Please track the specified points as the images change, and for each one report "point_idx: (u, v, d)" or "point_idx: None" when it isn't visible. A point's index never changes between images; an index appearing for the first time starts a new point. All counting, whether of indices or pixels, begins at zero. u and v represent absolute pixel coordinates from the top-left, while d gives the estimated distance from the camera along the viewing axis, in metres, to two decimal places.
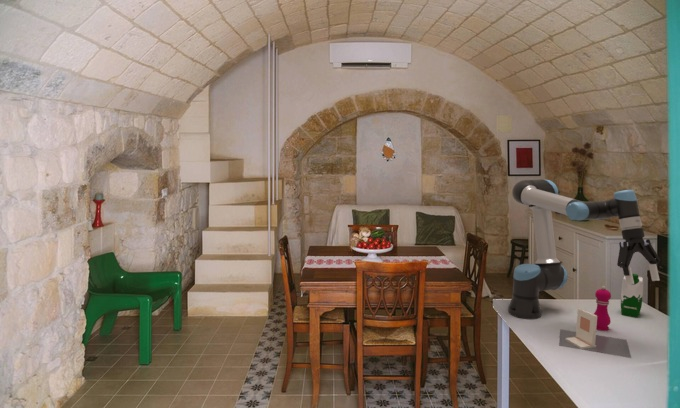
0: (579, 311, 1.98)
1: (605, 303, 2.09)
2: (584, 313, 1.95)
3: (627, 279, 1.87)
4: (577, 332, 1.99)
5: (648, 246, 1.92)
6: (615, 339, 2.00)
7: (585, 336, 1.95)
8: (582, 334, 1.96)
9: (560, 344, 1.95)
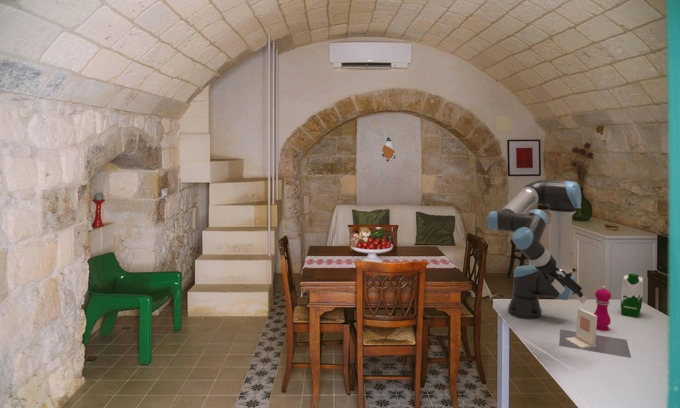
0: (579, 311, 1.98)
1: (605, 303, 2.09)
2: (584, 313, 1.95)
3: None
4: (577, 332, 1.99)
5: None
6: (615, 339, 2.00)
7: (585, 336, 1.95)
8: (582, 334, 1.96)
9: (560, 344, 1.95)
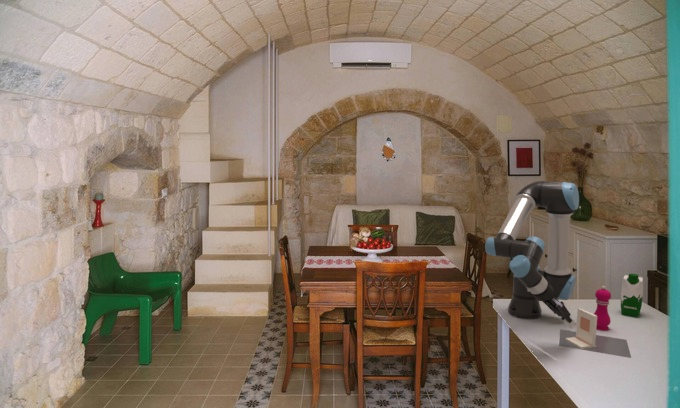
0: (579, 311, 1.98)
1: (605, 303, 2.09)
2: (584, 313, 1.95)
3: None
4: (577, 332, 1.99)
5: None
6: (615, 339, 2.00)
7: (585, 336, 1.95)
8: (582, 334, 1.96)
9: (560, 344, 1.95)
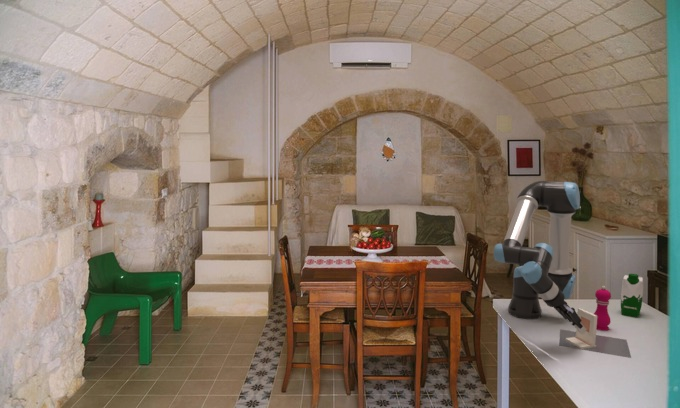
0: (579, 311, 1.98)
1: (605, 303, 2.09)
2: (584, 313, 1.95)
3: None
4: (577, 332, 1.99)
5: None
6: (615, 339, 2.00)
7: (585, 336, 1.95)
8: (582, 334, 1.96)
9: (560, 344, 1.95)
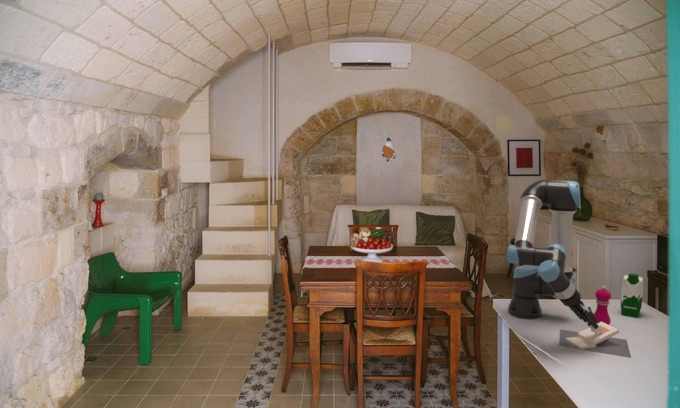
0: (601, 323, 2.01)
1: (605, 303, 2.09)
2: (607, 325, 1.99)
3: None
4: (583, 331, 2.00)
5: None
6: (615, 339, 2.00)
7: (591, 336, 1.96)
8: (588, 334, 1.97)
9: (560, 344, 1.95)
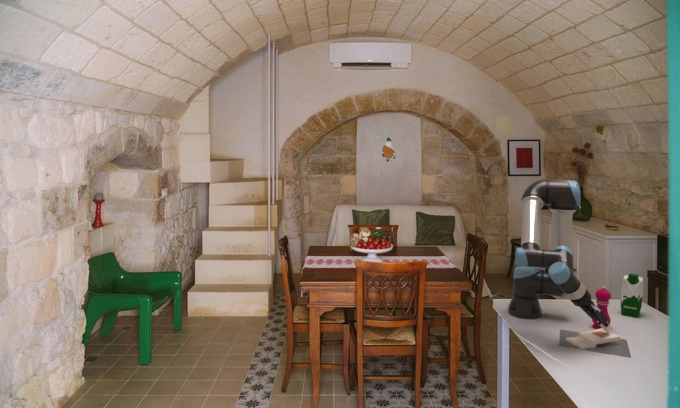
0: (603, 329, 2.02)
1: (605, 303, 2.09)
2: None
3: None
4: (584, 332, 2.00)
5: None
6: None
7: (591, 337, 1.96)
8: (589, 335, 1.97)
9: (560, 344, 1.95)
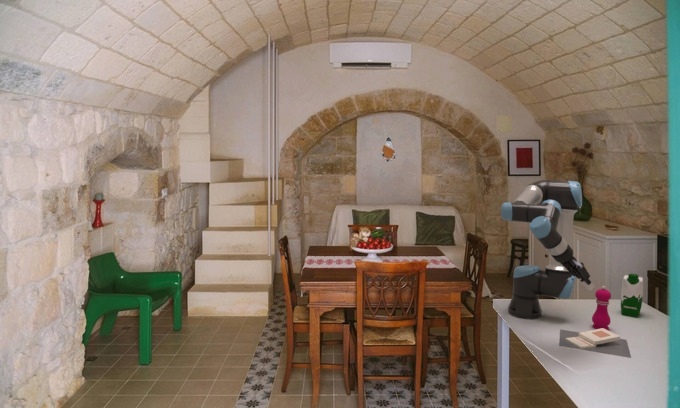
0: (603, 329, 2.02)
1: (605, 303, 2.09)
2: (608, 331, 1.99)
3: None
4: (584, 332, 2.00)
5: None
6: None
7: (591, 337, 1.96)
8: (589, 335, 1.97)
9: (560, 344, 1.95)
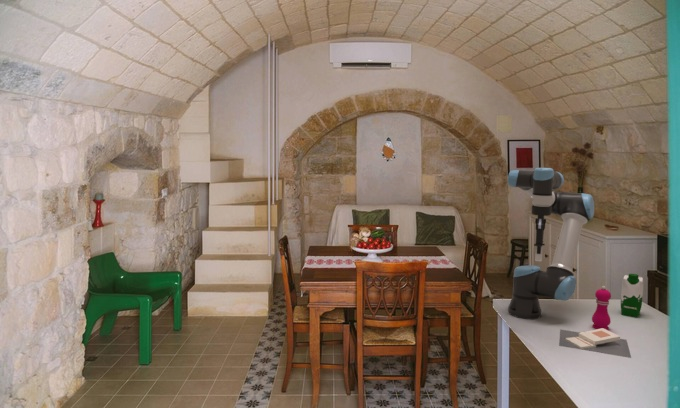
0: (603, 329, 2.02)
1: (605, 303, 2.09)
2: (608, 331, 1.99)
3: None
4: (584, 332, 2.00)
5: None
6: None
7: (591, 337, 1.96)
8: (589, 335, 1.97)
9: (560, 344, 1.95)
